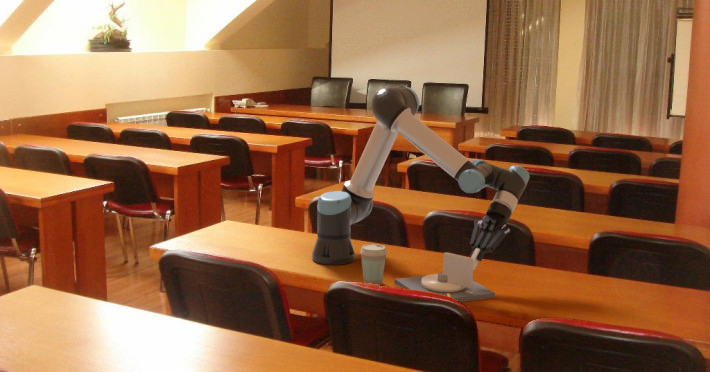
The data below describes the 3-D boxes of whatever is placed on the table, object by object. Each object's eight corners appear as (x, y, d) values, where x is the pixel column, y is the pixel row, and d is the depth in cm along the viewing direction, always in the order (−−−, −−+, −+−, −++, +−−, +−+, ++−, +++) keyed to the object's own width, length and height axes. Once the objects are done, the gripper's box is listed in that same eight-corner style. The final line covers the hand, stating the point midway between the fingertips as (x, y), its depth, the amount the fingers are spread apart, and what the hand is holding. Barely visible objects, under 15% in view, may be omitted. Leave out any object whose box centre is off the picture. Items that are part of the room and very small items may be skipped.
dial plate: (394, 283, 253) (394, 278, 253) (457, 276, 262) (457, 271, 262) (428, 306, 232) (428, 300, 232) (494, 297, 241) (495, 292, 241)
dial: (412, 284, 246) (413, 252, 244) (439, 275, 257) (440, 244, 255) (457, 297, 235) (458, 263, 233) (483, 287, 245) (484, 254, 243)
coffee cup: (383, 288, 248) (384, 251, 246) (357, 286, 250) (357, 249, 248) (388, 280, 256) (389, 244, 254) (362, 278, 258) (363, 242, 256)
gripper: (523, 217, 255) (492, 278, 245) (488, 211, 263) (457, 269, 254) (515, 204, 250) (484, 265, 241) (480, 198, 258) (448, 257, 249)
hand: (470, 267), depth 247 cm, fingers closed
